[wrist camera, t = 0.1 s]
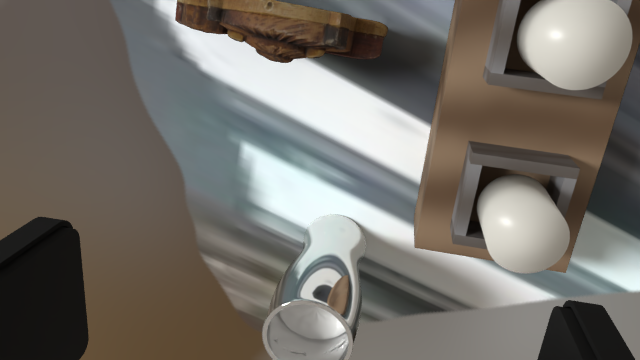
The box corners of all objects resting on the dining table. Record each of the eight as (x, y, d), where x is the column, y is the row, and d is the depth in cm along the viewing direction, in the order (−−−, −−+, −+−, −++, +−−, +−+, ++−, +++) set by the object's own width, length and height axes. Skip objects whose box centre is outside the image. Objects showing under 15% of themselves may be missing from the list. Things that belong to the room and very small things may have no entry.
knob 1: (485, 169, 37) (496, 196, 32) (558, 180, 37) (579, 209, 32) (470, 232, 39) (478, 266, 34) (539, 243, 38) (557, 279, 34)
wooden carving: (198, 40, 46) (145, 55, 37) (197, -16, 44) (142, -15, 35) (386, 58, 44) (380, 79, 35) (392, 0, 42) (388, 6, 33)
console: (467, -68, 40) (483, -80, 32) (633, -51, 39) (695, -59, 30) (414, 217, 49) (415, 266, 40) (547, 238, 47) (576, 293, 39)
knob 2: (527, -11, 33) (547, -9, 28) (611, -2, 32) (645, 1, 27) (508, 69, 34) (523, 83, 30) (587, 79, 34) (615, 95, 29)
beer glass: (385, 237, 50) (375, 336, 36) (343, 286, 53) (320, 395, 39) (325, 195, 49) (292, 280, 36) (286, 247, 52) (241, 344, 38)
